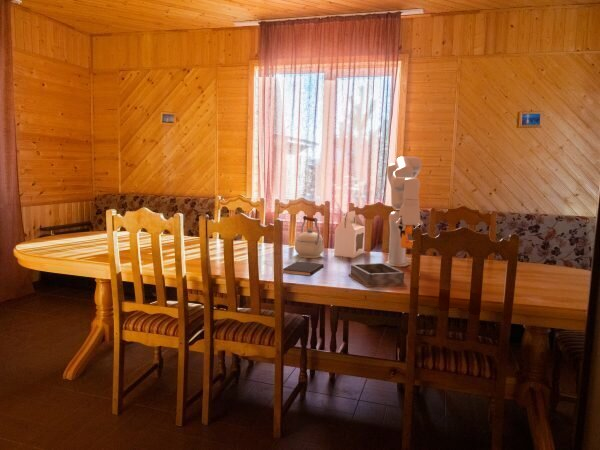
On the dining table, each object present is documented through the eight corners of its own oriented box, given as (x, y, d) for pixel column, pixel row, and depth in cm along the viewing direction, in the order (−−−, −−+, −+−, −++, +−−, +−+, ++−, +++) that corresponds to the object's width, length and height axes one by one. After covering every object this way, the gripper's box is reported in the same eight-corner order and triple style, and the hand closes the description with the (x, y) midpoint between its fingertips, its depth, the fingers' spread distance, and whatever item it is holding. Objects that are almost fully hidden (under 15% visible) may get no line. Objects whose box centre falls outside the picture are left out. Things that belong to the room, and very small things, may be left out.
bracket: (415, 249, 232) (416, 225, 230) (400, 248, 234) (402, 224, 232) (417, 245, 242) (418, 223, 240) (403, 244, 244) (404, 222, 242)
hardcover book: (282, 273, 247) (282, 269, 246) (297, 265, 268) (297, 261, 268) (310, 276, 241) (310, 272, 241) (323, 268, 263) (323, 264, 263)
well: (383, 274, 249) (383, 262, 248) (405, 285, 226) (406, 273, 225) (348, 275, 243) (349, 264, 242) (368, 287, 220) (368, 274, 219)
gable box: (345, 250, 317) (346, 209, 313) (364, 252, 311) (365, 210, 308) (333, 255, 297) (335, 212, 293) (353, 257, 291) (355, 213, 288)
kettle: (288, 253, 299) (289, 215, 296) (313, 252, 307) (314, 214, 304) (307, 261, 277) (308, 219, 274) (333, 259, 286) (334, 218, 282)
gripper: (421, 202, 240) (419, 236, 243) (391, 202, 235) (389, 237, 238) (429, 203, 233) (427, 238, 236) (398, 203, 228) (397, 239, 231)
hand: (408, 237), depth 237 cm, fingers closed on bracket, 6 cm apart
